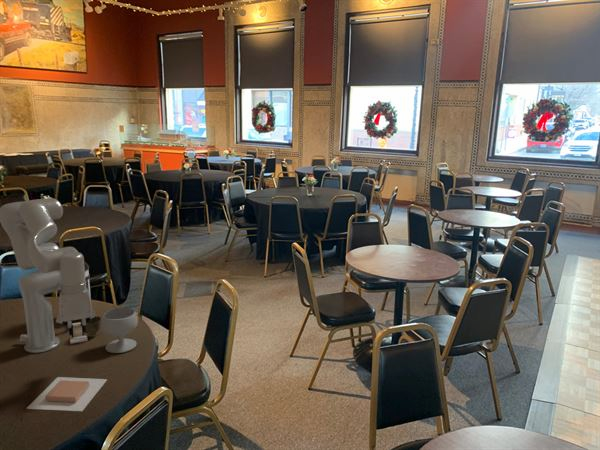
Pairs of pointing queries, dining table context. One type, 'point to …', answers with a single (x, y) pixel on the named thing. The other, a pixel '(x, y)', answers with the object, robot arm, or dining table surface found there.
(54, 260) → the robot arm
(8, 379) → the dining table surface
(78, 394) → the tile
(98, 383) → the tile board
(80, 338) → the turner
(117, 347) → the chalice
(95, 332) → the cup
